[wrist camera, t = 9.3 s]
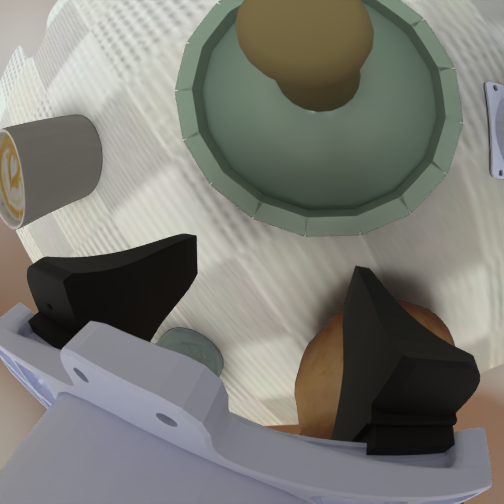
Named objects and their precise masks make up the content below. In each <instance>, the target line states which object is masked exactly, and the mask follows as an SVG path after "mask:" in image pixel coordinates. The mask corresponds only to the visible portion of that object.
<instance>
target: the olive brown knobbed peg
mask: <svg viewBox="0 0 504 504" xmlns="http://www.w3.org/2000/svg"><path fill="white" fill-rule="evenodd" d="M235 28H236V33H237V38H238V42H239V46H240V48H241V49H242V51H243V53H244V54H245V56H246V57H247V59H248V61H249V62H250V63H251V64H252V65H254V66H255V67H256V68H257V69H258V70H260V71H261V72H262V73H263V74H264V75H266V76H267V77H269V78H271V79H274V80H276V82H277V85H278V86H279V88H280V90H281V92H282V93H283V95H284V96H285V97H286V98H288V99H289V100H290V101H291V102H292V103H293V104H295V105H297V106H299V107H301V108H303V109H305V110H310V111H315V112H325V111H333V110H335V109H338V108H340V107H343V106H344V105H345V104H347V103H348V102H349V101H350V100H351V99H353V97H354V95H355V94H356V92H357V90H358V88H359V84H360V77H361V74H360V69H361V68H362V66H363V65H364V63H365V61H366V59H367V57H368V56H369V54H370V52H371V50H372V47H373V38H374V29H373V26H372V22H371V19H370V16H369V13H368V10H367V8H366V7H365V6H364V4H363V3H362V2H361V0H244V1H243V2H242V4H241V6H240V7H239V9H238V13H237V18H236V23H235Z"/></svg>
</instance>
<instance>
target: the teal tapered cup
mask: <svg viewBox="0 0 504 504" xmlns="http://www.w3.org/2000/svg"><path fill="white" fill-rule="evenodd" d="M156 345H158V346H161V347H164V348H166V349H169V350H172V351H175V352H178V353H181V354H183V355H186V356H188V357H190V358H192V359H194V360H196V361H198V362H200V363H202V364H204V365H205V366H207V367H208V368H209V369H210V370H211V371H212V372H213V373H214V374H215V375H216V376H218V377H219V376H220V373H221V371H222V368H223V358H222V355H221V353H220V351H219V350H218V349H217V347H216V346H215V345H214V344H213V343H212V342H211V341H210V340H209V339H207V338H206V337H204V336H203V335H201V334H199V333H197V332H195V331H192V330H190V329H186V328H173V329H170V330H169V331H167V332H166V333H165V334H164V335H163V336H162V337H161V338H160V339H159V341H158V342H157V343H156Z"/></svg>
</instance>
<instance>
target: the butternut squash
mask: <svg viewBox="0 0 504 504" xmlns="http://www.w3.org/2000/svg"><path fill="white" fill-rule="evenodd" d="M397 302H398V303H399V304H400V305H401V306H402V307H403V308H404V309H405V310H406V311H407V312H408V313H409V314H410V315H411V316H412V317H414V318H415V319H416V320H417V321H418V322H419V323H421V324H422V325H423V326H424V327H426V328H427V329H428V330H430V331H431V332H432V333H434V334H435V335H437V336H438V337H440V338H441V339H443V340H445V341H446V342H448V343H450V344H451V345H453V346H455V344H454V341H453V338H452V336H451V334H450V331H449V329H448V328H447V326H446V325H445V324H444V323H443V321H442V320H441V319H440V318H439V317H438V316H437V315H435V314H434V313H432V312H431V311H429V310H428V309H426V308H423V307H421V306H418V305H414V304H410V303H406V302H401V301H397ZM342 322H343V310H342V311H340V312H339V313H337V314H335V315H334V316H333V317H332V319H331V320H330V321H329V322H328V323H327V324H326V325H325V327H324V328H323V329H322V330H321V331H320V332H319V333H318V334H317V335H316V336H315V337H314V338H313V340H312V341H311V342H310V343H309V344H308V346H307V347H306V349H305V352H304V354H303V357H302V359H301V363H300V367H299V370H298V374H297V378H296V381H295V399H296V405H297V412H298V420H299V425H300V430H301V433H300V435H301V436H307V437H314V438H321V439H328V440H331V437H332V433H333V429H334V424H335V419H336V414H337V409H338V404H339V398H340V391H341V384H342V376H343V328H342ZM452 426H453V425H452ZM453 433H454V430H453ZM460 504H463V502H462V503H460Z"/></svg>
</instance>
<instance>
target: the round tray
mask: <svg viewBox="0 0 504 504" xmlns="http://www.w3.org/2000/svg"><path fill="white" fill-rule="evenodd" d="M243 1H244V0H220V1H219V3H220V4H221V5H219V4H217V3H216V5H215V6H214V7H213V8H212V9H211V11H210V12H209V13H208V14H207V16H206V17H205V18H204V19H203V21H202V22H201V23H200V25H199V26H198V27H197V29H196V30H195V31H194V33H193V34H192V36H191V37H190V38H189V40H188V41H187V42H189V43H191V44H186V46H185V50H184V54H183V58H182V62H181V66H180V70H179V74H178V78H177V83H176V87H175V90H179V91H176V92H175V95H176V102H177V108H178V114H179V120H180V126H181V132H182V137H183V139H186V138H187V139H186V140H184V143H185V144H186V146H187V148H188V149H189V151H190V153H191V154H192V156H193V158H194V159H195V161H196V163H197V164H198V166H199V168H200V169H201V171H202V172H203V174H204V176H205V177H206V179H207V181H208V182H209V184H210V183H212V182H213V183H212V184H211V186H212V187H213V188H215V189H216V190H217V191H218V192H220V193H221V194H222V195H224V196H225V197H226V198H227V199H229V200H230V201H231V202H232V203H234V204H235V205H236V206H237V207H239V208H240V209H241V210H242V211H244V212H245V213H246V214H247V215H249V216H250V217H251V218H252V216H253V215H254V214H255V215H254V219H255V220H258V221H261V222H264V223H267V224H270V225H273V226H276V227H279V228H282V229H285V230H288V231H291V232H293V233H296V234H299V235H302V236H304V234H305V231H306V237H307V236H348V235H359V230H360V232H361V234H365V233H367V232H370V231H372V230H374V229H377V228H379V227H381V226H384V225H386V224H388V223H391V222H393V221H395V220H398V219H400V218H402V217H405V216H407V215H409V211H410V212H411V213H412V212H413V211H414V210H415V209H416V208H417V207H418V206H419V205H420V204H421V203H422V201H423V200H424V199H425V198H426V197H427V196H428V195H429V194H430V193H431V192H432V191H433V190H434V188H435V187H436V186H437V185H438V184H439V183H440V182H441V181H442V180H443V178H444V177H445V176H446V175H445V173H444V172H446V173H448V170H449V167H450V164H451V161H452V158H453V155H454V152H455V149H456V146H457V142H458V139H459V136H460V132H461V128H462V125H463V124H461V123H460V122H463V119H462V109H461V101H460V94H459V87H458V81H457V76H456V71H455V69H451V68H453V67H454V65H453V63H452V62H451V60H450V58H449V56H448V55H447V53H446V51H445V50H444V48H443V46H442V45H441V43H440V41H439V40H438V38H437V37H436V35H435V34H434V32H433V31H432V29H431V28H430V26H429V25H428V23H427V22H426V21H425V20H422V19H423V17H421V16H420V15H419V14H418V13H417V12H415V11H414V10H413V9H411V8H410V7H409V6H407V5H406V4H405V3H403V2H402V1H401V0H361V2H362V3H363V4H364V6H365V7H366V8H367V10H368V13H369V16H370V19H371V22H372V26H373V29H374V38H373V47H372V50H371V52H370V54H369V56H368V57H367V59H366V61H365V63H364V65H363V66H362V68H361V69H360V74H361V77H360V84H359V88H358V90H357V92H356V94H355V95H354V97H353V99H351V100H350V101H349V102H348V103H347V104H345V105H344V106H343V107H340V108H338V109H335V110H333V111H325V112H315V111H310V110H305V109H303V108H301V107H299V106H297V105H295V104H293V103H292V102H291V101H290V100H289V99H288V98H286V97H285V96H284V95H283V93H282V92H281V90H280V88H279V86H278V85H277V82H276V80H274V79H271V78H269V77H267V76H266V75H264V74H263V73H262V72H261V71H260V70H258V69H257V68H256V67H255V66H254V65H252V64H251V63H250V62H249V61H248V59H247V57H246V56H245V54H244V53H243V51H242V49H241V48H240V46H239V42H238V38H237V33H236V28H235V23H236V18H237V13H238V9H239V7H240V6H241V4H242V2H243ZM421 20H422V21H421ZM408 210H409V211H408Z"/></svg>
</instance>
